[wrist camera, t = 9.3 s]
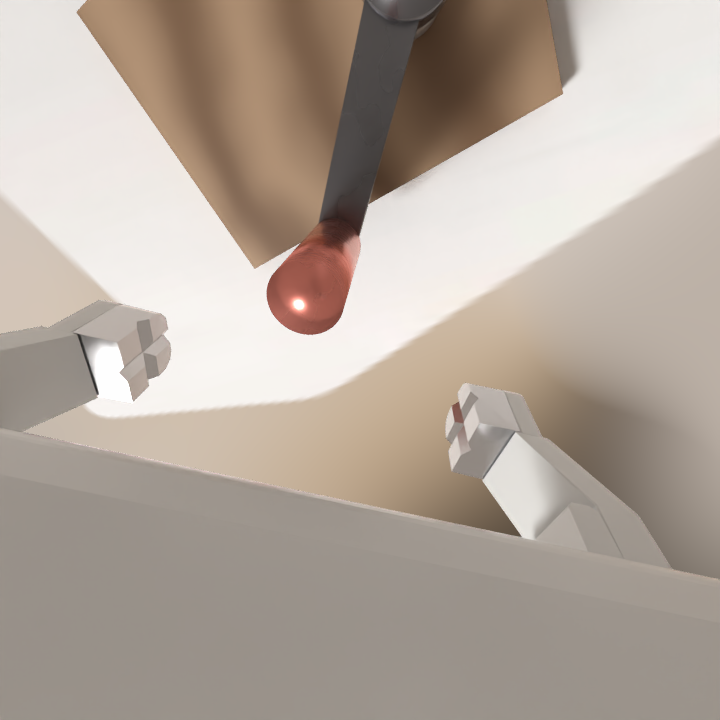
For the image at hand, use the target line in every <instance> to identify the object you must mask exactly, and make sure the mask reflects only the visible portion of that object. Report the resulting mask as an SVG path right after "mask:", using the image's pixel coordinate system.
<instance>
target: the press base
mask: <svg viewBox="0 0 720 720" xmlns="http://www.w3.org/2000/svg"><path fill="white" fill-rule="evenodd" d="M363 5H364V3H363V1H362V0H87V1H86V2H85V3H84V4H83V5H82V6H81V8H80V9H79V10H78V11H77V14H78V15H79V16H80V18H81V19H82V21H83V22H84V24H85V25H86V27H87V28H88V29H89V31H90V32H91V34H92V35H93V37H94V38H95V40H96V41H97V42H98V44H99V45H100V47H101V48H102V50H103V51H104V52H105V54H106V55H107V57H108V58H109V60H110V61H111V63H112V64H113V65H114V67H115V68H116V70H117V71H118V73H119V74H120V76H121V77H122V78H123V80H124V81H125V83H126V84H127V86H128V87H129V88H130V90H131V91H132V93H133V94H134V96H135V97H136V99H137V100H138V101H139V103H140V104H141V106H142V107H143V109H144V110H145V112H146V113H147V114H148V116H149V117H150V119H151V120H152V122H153V123H154V124H155V126H156V127H157V129H158V130H159V132H160V133H161V135H162V136H163V137H164V139H165V140H166V142H167V143H168V145H169V146H170V148H171V149H172V150H173V152H174V153H175V155H176V156H177V158H178V159H179V160H180V162H181V163H182V165H183V166H184V168H185V169H186V171H187V172H188V173H189V175H190V176H191V178H192V179H193V181H194V182H195V184H196V185H197V186H198V188H199V189H200V191H201V192H202V194H203V195H204V196H205V198H206V199H207V201H208V202H209V204H210V205H211V207H212V208H213V209H214V211H215V212H216V214H217V215H218V217H219V218H220V220H221V221H222V222H223V224H224V225H225V227H226V228H227V230H228V231H229V232H230V234H231V235H232V237H233V238H234V240H235V241H236V243H237V244H238V245H239V247H240V248H241V250H242V251H243V253H244V254H245V256H246V257H247V258H248V260H249V261H250V263H251V264H252V266H253V267H254V268H257V267H259V266H260V265H262V264H264V263H266V262H267V261H269V260H271V259H273V258H274V257H276V256H278V255H280V254H281V253H283V252H285V251H287V250H288V249H290V248H292V247H294V246H296V245H297V244H299V243H301V242H302V241H303V240H304V239H305V238H306V237H307V235H308V234H309V233H310V232H311V231H312V230H313V229H314V228H315V226H316V225H317V224H318V223H319V218H320V213H321V208H322V203H323V198H324V194H325V189H326V184H327V179H328V174H329V170H330V165H331V160H332V155H333V150H334V145H335V141H336V136H337V131H338V126H339V121H340V116H341V112H342V107H343V102H344V97H345V92H346V87H347V83H348V78H349V73H350V68H351V63H352V58H353V54H354V49H355V44H356V39H357V34H358V29H359V25H360V20H361V15H362V10H363ZM562 94H563V91H562V85H561V80H560V74H559V68H558V63H557V57H556V51H555V46H554V40H553V34H552V29H551V23H550V17H549V12H548V6H547V0H446V2H445V4H444V6H443V7H442V8H441V10H440V11H439V13H438V14H437V15H436V16H435V17H434V18H433V19H432V20H431V21H430V22H429V23H427V24H426V25H424V26H423V27H421V28H419V29H417V32H416V35H415V39H414V42H413V46H412V50H411V53H410V57H409V60H408V64H407V68H406V71H405V75H404V78H403V82H402V86H401V89H400V93H399V96H398V100H397V103H396V107H395V111H394V114H393V118H392V121H391V125H390V129H389V132H388V136H387V139H386V143H385V147H384V150H383V154H382V157H381V161H380V164H379V168H378V172H377V175H376V179H375V182H374V186H373V190H372V193H371V197H370V200H369V204H370V203H371V202H373V201H375V200H377V199H378V198H380V197H382V196H384V195H385V194H387V193H389V192H391V191H393V190H394V189H396V188H398V187H400V186H401V185H403V184H405V183H407V182H408V181H410V180H412V179H414V178H415V177H417V176H419V175H421V174H423V173H424V172H426V171H428V170H430V169H431V168H433V167H435V166H437V165H438V164H440V163H442V162H444V161H445V160H447V159H449V158H451V157H452V156H454V155H456V154H458V153H460V152H461V151H463V150H465V149H467V148H468V147H470V146H472V145H474V144H475V143H477V142H479V141H481V140H482V139H484V138H486V137H488V136H490V135H491V134H493V133H495V132H497V131H498V130H500V129H502V128H504V127H505V126H507V125H509V124H511V123H512V122H514V121H516V120H518V119H520V118H521V117H523V116H525V115H527V114H528V113H530V112H532V111H534V110H535V109H537V108H539V107H541V106H542V105H544V104H546V103H548V102H549V101H551V100H553V99H555V98H557V97H558V96H560V95H562Z"/></svg>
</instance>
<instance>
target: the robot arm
mask: <svg viewBox="0 0 720 720" xmlns="http://www.w3.org/2000/svg"><path fill="white" fill-rule="evenodd" d="M167 330H168V326H167V321H166V318H165V317H164V316H163V315H162V314H160V313H156V312H152V311H148V310H144V309H140V308H136V307H132V306H128V305H123V304H120V303H115V302H110V301H106V300H98V301H96V302H94V303H93V304H91V305H89V306H87V307H85V308H84V309H82V310H80V311H78V312H76V313H74V314H72V315H71V316H69V317H67V318H65V319H63V320H61V321H60V322H58V323H56V324H54V325H52V326H50V327H49V328H47V327H42V326H41V327H36V328H30V329H24V330H19V331H13V332H8V333H2V334H0V720H720V579H715V578H710V577H706V576H701V575H696V574H691V573H686V572H682V571H677V570H673V569H672V568H671V567H670V565H669V563H668V562H667V560H666V559H665V557H664V555H663V554H662V552H661V551H660V549H659V547H658V546H657V544H656V543H655V541H654V539H653V538H652V536H651V535H650V533H649V531H648V530H647V528H646V526H645V525H644V523H643V522H642V520H641V519H640V517H639V515H637V514H636V513H635V512H634V511H633V510H631V509H630V508H629V507H628V506H627V505H626V504H624V503H623V502H622V501H621V500H620V499H619V498H617V497H616V496H615V495H614V494H612V493H611V492H610V491H609V490H608V489H607V488H606V487H604V486H603V485H602V484H601V483H600V482H599V481H597V480H596V479H595V478H594V477H593V476H591V475H590V474H589V473H588V472H587V471H586V470H584V469H583V468H582V467H581V466H580V465H578V464H577V463H576V462H575V461H574V460H572V459H571V458H570V457H569V456H568V455H567V454H566V453H564V452H563V451H562V450H560V449H559V447H557V446H556V445H555V444H554V443H553V442H551V441H550V440H549V439H547V438H543V437H542V436H541V434H540V431H539V429H538V427H537V425H536V423H535V421H534V419H533V417H532V415H531V412H530V410H529V408H528V406H527V404H526V402H525V400H524V398H523V396H522V395H521V394H519V393H513V392H509V391H503V390H497V389H492V388H487V387H482V386H478V385H473V384H468V383H464V384H463V385H462V387H461V388H460V390H459V392H458V398H459V402H458V403H456V404H454V405H452V406H451V409H450V411H449V413H448V416H447V420H446V430H445V432H446V438H447V440H448V441H449V442H450V443H451V447H450V449H449V451H448V453H449V459H450V464H451V471H452V472H455V473H459V474H464V475H467V476H472V477H476V478H480V479H483V482H484V484H485V485H486V486H487V488H488V489H489V491H490V492H491V493H492V495H493V496H494V498H495V499H496V500H497V502H498V503H499V505H500V506H501V508H502V509H503V510H504V512H505V513H506V514H507V516H508V517H509V519H510V520H511V522H512V523H513V524H514V526H515V527H516V529H517V530H518V531H519V533H520V534H521V536H522V537H523V538H521V537H517V536H512V535H507V534H502V533H498V532H493V531H488V530H483V529H479V528H474V527H469V526H464V525H460V524H455V523H450V522H445V521H441V520H436V519H431V518H427V517H421V516H417V515H412V514H407V513H403V512H398V511H393V510H389V509H384V508H379V507H375V506H370V505H365V504H360V503H356V502H351V501H346V500H341V499H337V498H332V497H328V496H322V495H318V494H313V493H309V492H304V491H299V490H294V489H289V488H285V487H280V486H275V485H271V484H266V483H261V482H257V481H251V480H247V479H242V478H238V477H233V476H228V475H223V474H218V473H214V472H209V471H204V470H200V469H195V468H190V467H186V466H181V465H176V464H171V463H166V462H161V461H157V460H152V459H148V458H143V457H138V456H133V455H129V454H124V453H119V452H115V451H110V450H105V449H100V448H95V447H91V446H86V445H81V444H77V443H72V442H67V441H63V440H58V439H53V438H48V437H44V436H39V435H34V434H29V433H24V432H22V431H25V430H27V429H29V428H31V427H34V426H36V425H38V424H40V423H42V422H45V421H47V420H49V419H51V418H54V417H56V416H58V415H60V414H62V413H65V412H67V411H69V410H71V409H74V408H76V407H78V406H80V405H82V404H85V403H87V402H89V401H91V400H94V399H96V398H98V396H101V397H106V398H111V399H116V400H122V401H127V402H133V401H134V400H135V399H136V398H137V397H138V396H139V395H140V394H141V393H142V392H143V391H144V390H145V389H146V388H147V387H148V386H149V382H148V379H151V378H154V377H156V376H159V375H160V374H161V373H162V372H163V371H164V370H165V369H166V367H167V365H168V363H169V360H170V355H171V347H170V342H169V341H168V340H167V339H166V337H165V336H164V335H163V334H164V333H165V332H166V331H167Z"/></svg>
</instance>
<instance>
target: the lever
mask: <svg viewBox="0 0 720 720" xmlns="http://www.w3.org/2000/svg"><path fill="white" fill-rule="evenodd" d="M362 1H363V3H364V5H363V10H362V15H361V20H360V25H359V29H358V34H357V39H356V44H355V49H354V54H353V58H352V63H351V68H350V73H349V78H348V83H347V87H346V92H345V97H344V102H343V107H342V112H341V116H340V121H339V126H338V131H337V136H336V141H335V145H334V150H333V155H332V160H331V165H330V170H329V174H328V179H327V184H326V189H325V194H324V198H323V203H322V208H321V213H320V218H319V223H318V224H317V225H316V226H315V228H314V229H313V230H312V231H311V232H310V233H309V234H308V235H307V237H306V238H305V239H304V240H303V241H302V242H301V243H300V244H299V246H298V247H297V248H296V249H295V250H294V251H293V252H292V253H291V255H290V256H289V257H288V258H287V259H286V260H285V261H284V262H283V264H282V265H281V266H280V267H279V268H278V269H277V270H276V271H275V273H274V274H273V275H272V277H271V278H270V280H269V283H268V286H267V301H268V305H269V307H270V310H271V312H272V313H273V315H274V316H275V318H276V319H277V320H278V321H279V322H280V323H281V324H282V325H284V326H285V327H287V328H288V329H290V330H292V331H294V332H297V333H301V334H307V335H313V334H319V333H322V332H325V331H327V330H329V329H330V328H332V327H333V326H334V325H335V324H336V323H337V322H338V320H339V319H340V317H341V315H342V312H343V309H344V305H345V302H346V298H347V295H348V292H349V288H350V285H351V281H352V278H353V274H354V271H355V268H356V264H357V261H358V257H359V254H360V248H361V245H360V239H359V236H360V233H361V229H362V225H363V222H364V218H365V215H366V211H367V207H368V204H369V200H370V197H371V193H372V190H373V186H374V182H375V179H376V175H377V172H378V168H379V164H380V161H381V157H382V154H383V150H384V147H385V143H386V139H387V136H388V132H389V129H390V125H391V121H392V118H393V114H394V111H395V107H396V103H397V100H398V96H399V93H400V89H401V86H402V82H403V78H404V75H405V71H406V68H407V64H408V60H409V57H410V53H411V50H412V46H413V42H414V39H415V35H416V32H417V29H419V28H421V27H423V26H424V25H426V24H427V23H429V22H430V21H431V20H432V19H433V18H434V17H435V16H436V15H437V14H438V13H439V11H440V10H441V8H442V7H443V6H444V4H445V2H446V0H362Z"/></svg>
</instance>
